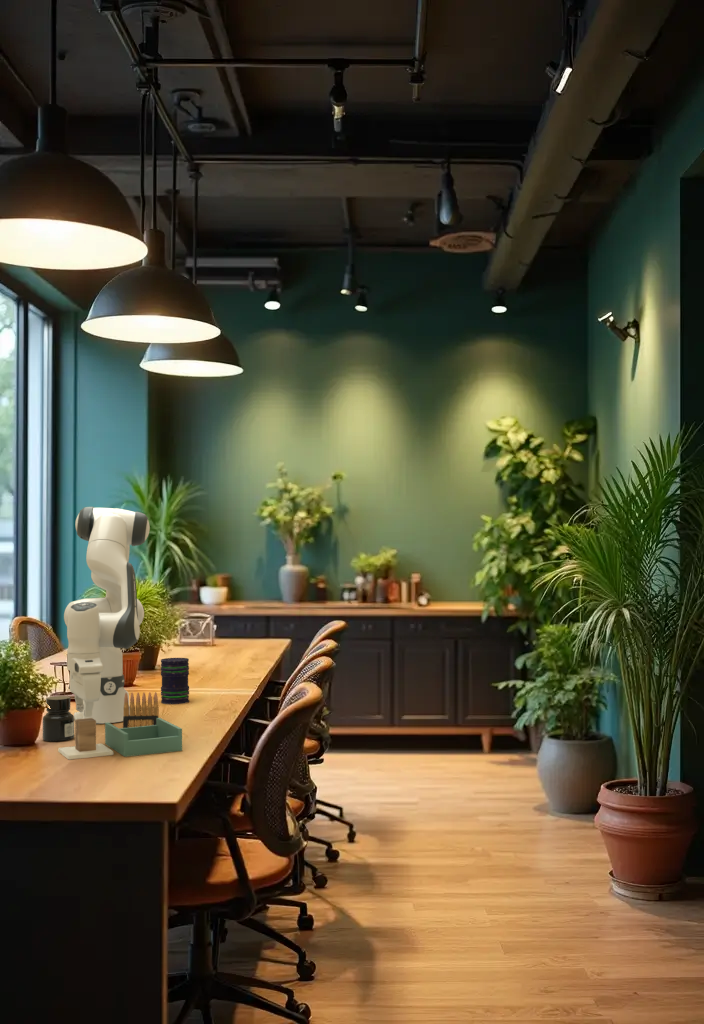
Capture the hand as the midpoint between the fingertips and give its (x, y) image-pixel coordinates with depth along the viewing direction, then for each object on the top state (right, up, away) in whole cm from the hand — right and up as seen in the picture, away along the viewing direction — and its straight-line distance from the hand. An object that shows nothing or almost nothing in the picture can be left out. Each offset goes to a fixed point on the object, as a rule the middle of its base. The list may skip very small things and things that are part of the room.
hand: (83, 713), depth 297 cm
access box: (+15, -11, +7) cm, 20 cm away
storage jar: (+11, -12, +86) cm, 88 cm away
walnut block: (+1, -10, 0) cm, 10 cm away
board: (+1, -11, 0) cm, 11 cm away
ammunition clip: (+10, -11, +29) cm, 33 cm away
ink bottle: (-12, -11, +20) cm, 26 cm away
